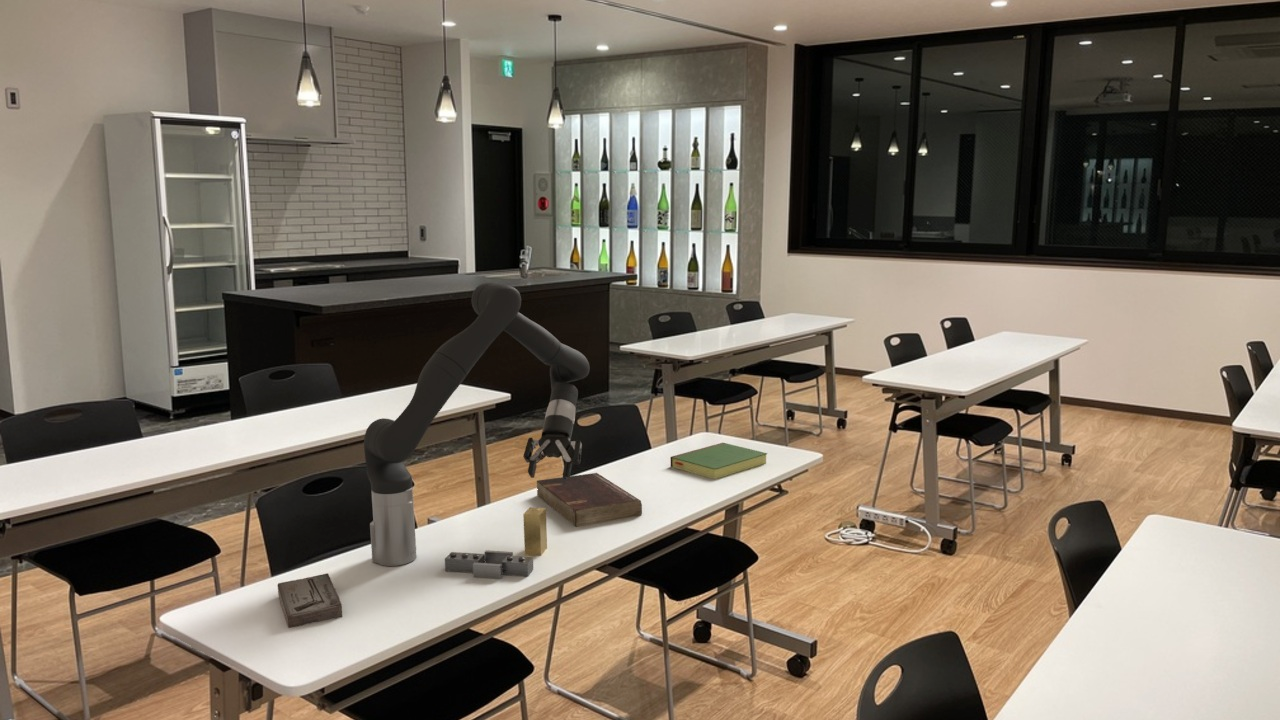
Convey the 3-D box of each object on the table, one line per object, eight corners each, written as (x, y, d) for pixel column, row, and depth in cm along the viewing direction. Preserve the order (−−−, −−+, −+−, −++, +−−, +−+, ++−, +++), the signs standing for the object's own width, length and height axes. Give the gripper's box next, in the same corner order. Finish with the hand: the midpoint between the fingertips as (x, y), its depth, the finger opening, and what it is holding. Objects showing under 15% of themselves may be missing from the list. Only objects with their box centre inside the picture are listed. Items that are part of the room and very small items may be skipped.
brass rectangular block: (524, 554, 221) (523, 514, 220) (531, 546, 226) (529, 507, 224) (541, 555, 221) (539, 514, 219) (547, 547, 225) (545, 508, 224)
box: (329, 585, 204) (327, 572, 204) (343, 617, 189) (342, 603, 189) (277, 596, 200) (275, 582, 199) (287, 630, 185) (286, 616, 184)
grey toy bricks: (441, 574, 210) (440, 560, 209) (455, 560, 218) (455, 546, 217) (524, 580, 206) (524, 565, 206) (536, 565, 214) (535, 551, 214)
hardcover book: (722, 453, 308) (722, 442, 308) (767, 464, 295) (767, 453, 294) (668, 468, 292) (668, 457, 291) (713, 481, 278) (713, 469, 278)
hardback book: (642, 517, 248) (641, 498, 247) (576, 528, 240) (575, 510, 239) (598, 487, 273) (597, 471, 273) (537, 497, 265) (536, 480, 264)
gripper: (529, 412, 240) (516, 468, 230) (583, 414, 237) (572, 471, 228) (536, 427, 246) (524, 483, 237) (588, 429, 243) (579, 485, 234)
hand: (548, 477), depth 232 cm, fingers open, 8 cm apart
